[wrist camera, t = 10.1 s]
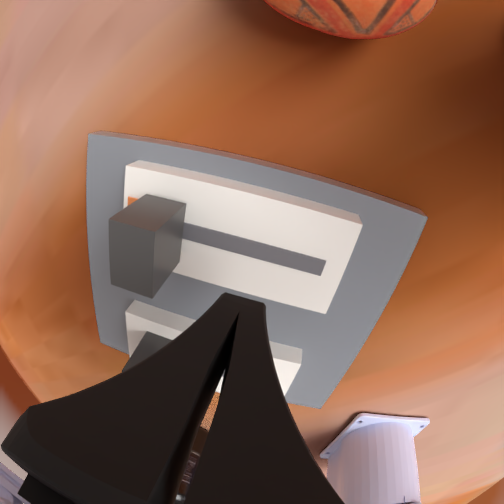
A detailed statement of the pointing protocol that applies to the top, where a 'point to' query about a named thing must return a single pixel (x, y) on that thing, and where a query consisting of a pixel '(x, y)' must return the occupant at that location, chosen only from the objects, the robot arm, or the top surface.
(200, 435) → the supplement bottle
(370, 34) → the pot
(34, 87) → the top surface
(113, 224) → the gray slider knob
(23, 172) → the top surface
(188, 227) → the grey slider panel
